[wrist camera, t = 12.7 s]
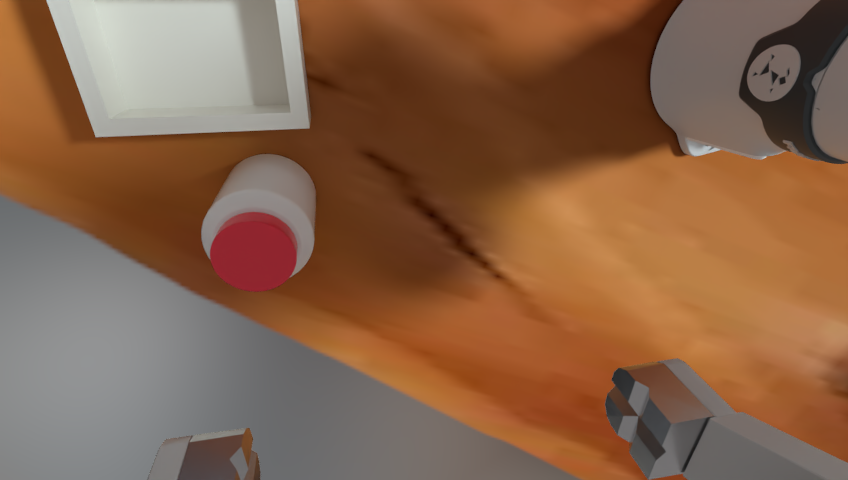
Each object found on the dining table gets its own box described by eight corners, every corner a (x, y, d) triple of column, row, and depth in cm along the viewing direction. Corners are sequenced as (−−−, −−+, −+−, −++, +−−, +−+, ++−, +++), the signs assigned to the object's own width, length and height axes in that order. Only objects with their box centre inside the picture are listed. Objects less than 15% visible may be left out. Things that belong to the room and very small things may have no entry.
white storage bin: (293, -32, 31) (290, -36, 27) (311, 116, 36) (309, 128, 32) (66, -37, 28) (30, -43, 25) (119, 123, 33) (95, 137, 30)
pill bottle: (307, 241, 41) (301, 311, 32) (219, 225, 39) (185, 296, 29) (324, 165, 38) (324, 218, 28) (230, 143, 35) (196, 193, 26)
